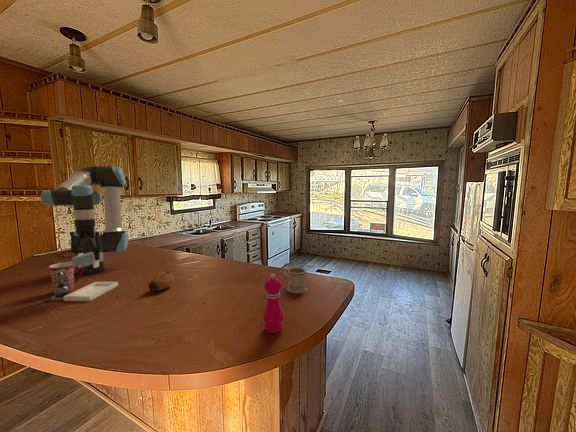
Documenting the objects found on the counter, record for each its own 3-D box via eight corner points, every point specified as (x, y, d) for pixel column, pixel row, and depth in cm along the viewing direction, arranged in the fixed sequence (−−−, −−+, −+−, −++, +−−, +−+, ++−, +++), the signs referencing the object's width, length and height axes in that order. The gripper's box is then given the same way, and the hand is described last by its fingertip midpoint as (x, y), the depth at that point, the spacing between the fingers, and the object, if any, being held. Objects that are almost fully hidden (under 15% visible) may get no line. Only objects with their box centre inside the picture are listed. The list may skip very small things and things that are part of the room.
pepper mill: (263, 323, 92) (262, 271, 90) (282, 322, 92) (282, 270, 90) (263, 334, 85) (262, 277, 83) (284, 333, 85) (283, 277, 83)
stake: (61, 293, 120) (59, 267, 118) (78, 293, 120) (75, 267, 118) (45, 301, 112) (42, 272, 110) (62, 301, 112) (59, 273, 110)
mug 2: (310, 288, 124) (310, 265, 123) (297, 295, 117) (297, 270, 116) (289, 281, 134) (289, 260, 133) (276, 287, 127) (276, 264, 126)
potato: (156, 299, 120) (143, 290, 120) (174, 283, 132) (162, 275, 132) (161, 289, 117) (147, 280, 117) (179, 274, 129) (166, 265, 129)
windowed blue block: (86, 266, 112) (85, 257, 112) (72, 266, 113) (71, 257, 112) (105, 259, 124) (105, 251, 124) (93, 259, 124) (92, 251, 124)
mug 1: (56, 296, 116) (53, 268, 115) (48, 292, 121) (45, 265, 119) (88, 287, 127) (86, 262, 126) (79, 284, 132) (77, 259, 130)
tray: (95, 285, 129) (95, 281, 129) (118, 285, 129) (117, 281, 129) (63, 301, 112) (63, 296, 111) (90, 301, 111) (89, 296, 111)
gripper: (56, 219, 112) (61, 269, 114) (98, 219, 112) (102, 269, 114) (71, 218, 120) (75, 264, 122) (111, 217, 119) (114, 264, 121)
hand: (88, 266), depth 118 cm, fingers closed on windowed blue block, 6 cm apart
